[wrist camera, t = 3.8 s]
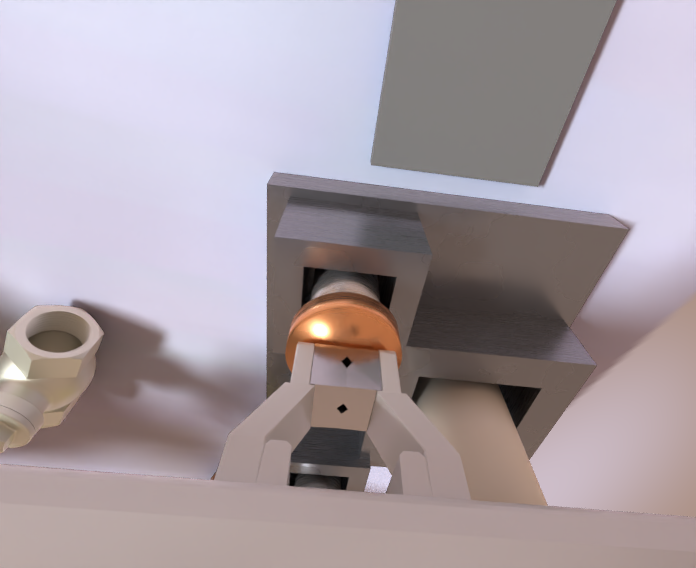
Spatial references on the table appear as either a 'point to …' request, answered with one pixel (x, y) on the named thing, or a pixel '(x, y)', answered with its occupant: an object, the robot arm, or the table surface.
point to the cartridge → (481, 438)
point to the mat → (483, 84)
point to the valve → (45, 370)
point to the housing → (440, 295)
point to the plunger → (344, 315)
